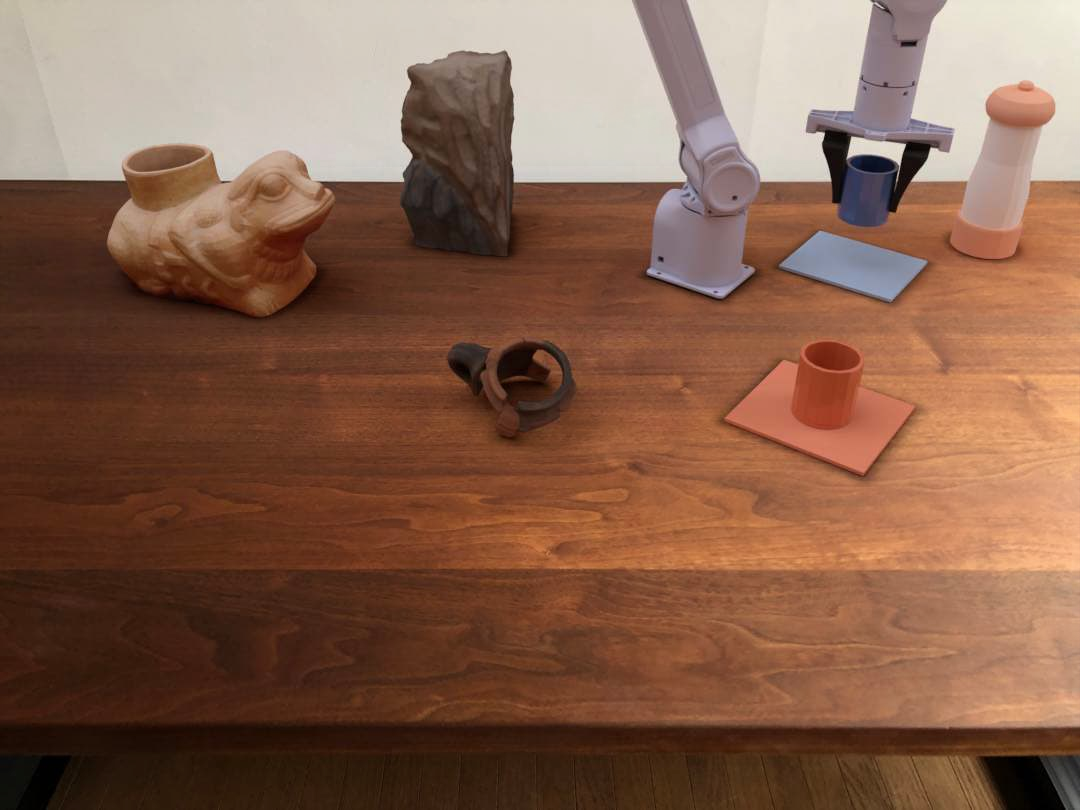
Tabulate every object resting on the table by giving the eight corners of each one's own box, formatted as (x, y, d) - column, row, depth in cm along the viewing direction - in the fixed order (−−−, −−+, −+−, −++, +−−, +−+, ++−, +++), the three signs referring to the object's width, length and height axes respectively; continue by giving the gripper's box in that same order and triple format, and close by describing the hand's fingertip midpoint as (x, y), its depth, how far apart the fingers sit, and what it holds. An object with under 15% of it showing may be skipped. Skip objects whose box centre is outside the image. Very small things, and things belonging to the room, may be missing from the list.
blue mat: (778, 268, 118) (778, 265, 118) (819, 233, 125) (819, 230, 125) (890, 302, 111) (891, 299, 111) (927, 264, 119) (927, 260, 119)
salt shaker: (1021, 240, 124) (1070, 78, 113) (1007, 265, 119) (1056, 97, 108) (958, 226, 127) (999, 66, 116) (942, 249, 122) (983, 84, 111)
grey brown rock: (400, 246, 122) (386, 73, 110) (434, 202, 132) (425, 39, 120) (506, 258, 119) (503, 83, 108) (532, 212, 129) (532, 47, 118)
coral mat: (723, 421, 94) (724, 417, 94) (783, 362, 102) (783, 359, 102) (863, 476, 88) (863, 472, 87) (914, 409, 96) (915, 405, 95)
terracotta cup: (780, 415, 94) (789, 359, 91) (806, 388, 98) (816, 332, 94) (837, 437, 91) (849, 379, 88) (861, 408, 95) (874, 352, 92)
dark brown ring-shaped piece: (578, 383, 100) (594, 342, 92) (549, 471, 95) (563, 436, 88) (458, 342, 100) (464, 298, 92) (423, 428, 95) (427, 389, 88)
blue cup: (833, 222, 113) (842, 169, 110) (841, 202, 117) (850, 151, 114) (884, 230, 111) (895, 177, 108) (891, 210, 116) (902, 158, 112)
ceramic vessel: (306, 332, 106) (286, 193, 97) (88, 290, 113) (51, 157, 104) (368, 271, 117) (354, 140, 108) (165, 236, 124) (138, 111, 115)
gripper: (808, 81, 105) (789, 207, 113) (961, 100, 100) (930, 230, 108) (821, 61, 110) (802, 183, 118) (966, 78, 106) (937, 204, 114)
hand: (864, 204), depth 114 cm, fingers closed on blue cup, 5 cm apart
